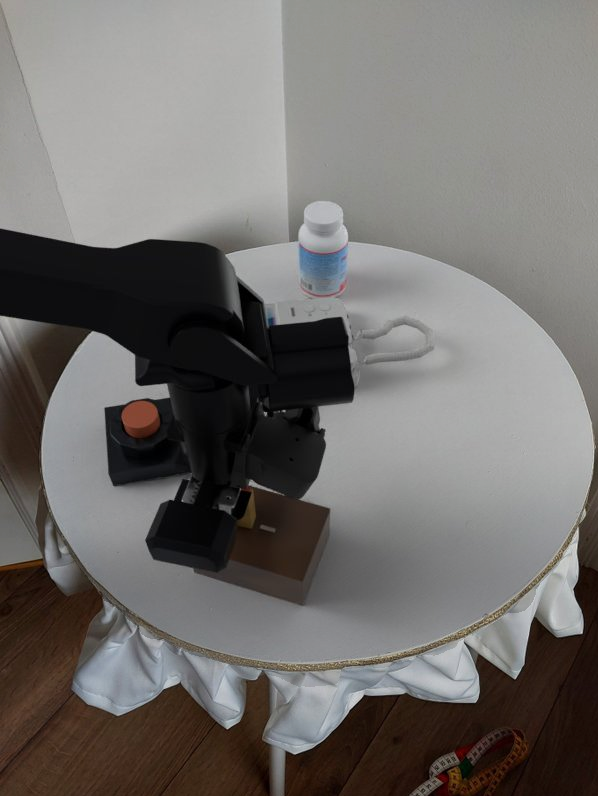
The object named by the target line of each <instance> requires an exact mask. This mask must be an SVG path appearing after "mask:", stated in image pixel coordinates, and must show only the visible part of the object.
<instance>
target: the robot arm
mask: <svg viewBox="0 0 598 796" xmlns="http://www.w3.org/2000/svg"><path fill="white" fill-rule="evenodd" d="M265 304H266V303H265V299H264V298H262V297H261V295H259V294H258V293H257V292H256V291H254V290H253V289H252V288H251V287H250V286H249V285H248V284H247V283H245V281H243V280H242V279H241V278H240V277H239V276H237V273H236V269H235V266H234V265H233V264H232V262H231V261H230V259H229V258H228V257H227V256H226V253H225V252H224V251H223V250H221V249H220V248H218V247H216V246H214V245H211V244H209V243H207V242H206V243H205V242H199V241H188V240H173V239H158V238H148V239H143V240H140V241H136V242H133V243H130V244H126V245H123V246H119V247H101V246H91V245H86V244H82V243H77V242H72V241H67V240H62V239H55V238H51V237H46V236H40V235H37V234H32V233H31V234H30V233H26V232H22V231H17V230H16V231H15V230H11V229H5V228H1V227H0V317H5V318H12V319H18V320H23V321H24V320H25V321H30V322H38V323H44V324H49V325H50V324H51V325H57V326H62V327H63V326H64V327H69V328H75V329H82V330H88V331H90V332H94V333H97V334H101V335H104V336H107V338H109V339H111V340H112V341H114V342H115V343H117V344H118V345H120V347H122V348H124V349H125V350H127V351H128V352H130V353H131V354H132V355H134V376H135V378H134V382H135V384H136V385H137V386H139V387H149V386H158V385H166V386H167V391H168V395H169V398H170V400H171V404H172V408H173V413H174V415H173V417H172V419H171V421H170V424H169V426H168V428H167V430H166V432H167V436H168V439H170V440H175V441H180V444H181V449H180V451H179V453H178V456H177V458H176V460H175V463H174V464H175V468H176V471H181V472H186V474H191V476H190V478H189V479H187V478H182V479H181V482H180V483H179V486H178V489H177V491H176V493H175V497H174V499H168V500H166V501H163V502H161V503H160V504H159V506H158V509H157V511H156V513H155V516H154V518H153V520H152V523H151V525H150V528H149V530H148V532H147V534H146V537H145V539H144V541H145V544H146V547H147V549H148V553H149V554H150V556H151V559H152V560H154V561H158V562H163V563H168V564H172V565H177V566H183V567H187V568H192V569H193V568H196V569H200V570H205V571H210V572H215V573H218V572H220V571H222V570H224V569H225V568H226V567H227V565H228V562H229V559H230V556H231V553H232V550H233V547H234V544H235V541H236V536H237V530H238V522H237V521H239V520H241V519H242V518H243V517H244V515H245V512H246V509H247V506H248V503H249V500H250V497H251V494H252V492H248V491H243V490H241V489H246V490H247V488H248V485H250V482H251V481H252V482H254V483H255V484H256V485H259V486H260V487H263V488H266V489H268V490H271V491H272V492H275V493H278V494H281V495H285V496H286V497H287V498H290V499H293V500H302V498H304V497H305V495H306V494H307V492H308V491H309V490H310V489H311V487H312V486H313V484H314V483H315V481H316V480H317V479H318V478H319V477H318V476H319V473H320V470H321V467H322V463H323V459H324V456H325V453H326V448H327V441H326V440H325V436H326V432H327V431H326V429H325V428H323V427H320V422H321V415H320V410H319V409H320V408H319V407H327V406H335V405H336V406H337V405H346V404H352V403H353V402H354V398H355V389H356V388H355V387H354V381H353V377H352V373H351V363H350V355H349V348H348V343H349V335H348V331H347V328H346V324H345V320H344V318H343V317H332V318H324V319H321V320H317V321H312V322H302V323H291V324H281V325H270V326H269V327H268V321H267V315H266V309H265ZM265 413H266V414H265Z"/></svg>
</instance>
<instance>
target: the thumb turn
mask: <svg viewBox="0 0 598 796" xmlns="http://www.w3.org/2000/svg"><path fill="white" fill-rule="evenodd" d="M241 490H243V491H248V492H252V494H251V497H250V500H249V503H248V506H247V509H246V512H245V515H244V517H243V518H242V519H241V520H239V521H237V522H238V526H241V527H246V528H251V529H252V527H253V524H254V521H255V518H256V512H255V503H254V493H253V490H252V489H248V488H247V490H246V489H241Z"/></svg>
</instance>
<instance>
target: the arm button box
mask: <svg viewBox="0 0 598 796" xmlns="http://www.w3.org/2000/svg"><path fill="white" fill-rule="evenodd" d="M137 401H147V402H150V403H152V404H153V405H155V407H156V408H157V411H158V414H159V418H160V427H159V429H158V431H157V432H156V433H155V434H153V435H152V436H150V437H147V438H134V437H132V436H130V435H129V434H128V433H127V432H126V430H125V427H124V424H123V421H122V412H123V410H124V409H125V408H126V407H127V406H128V405H129V404H131V403H133V402H137ZM103 411H104V421H105V422H104V424H105V427H104V428H105V440H106V441H105V442H106V455H107V456H106V457H107V471H108V477H109V479H110V482H111V484H112V486H113V487H114V486H115V487H116V486H121V485H126V484H134V483H138V482H144V481H151V480H156V479H157V480H158V479H163V478H169V477H173V476H174V477H175V476H179V475H187V473H186V472H181V471H176V468H175V464H174V463H175V460H176V458H177V456H178V453H179V451H180V449H181V444H180V441H175V440H170V439H168V436H167V432H166V430H167V428H168V426H169V424H170V421H171V419H172V417H173V415H174V413H173V408H172V404H171V400H170V397H164V398H158V399H153V398H150V397H146V398H140V399H139V398H138V399H131V400H130V401H128V402H127V403H125V404H118V405H112V406H105V407H104V408H103Z"/></svg>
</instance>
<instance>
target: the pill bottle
mask: <svg viewBox="0 0 598 796" xmlns="http://www.w3.org/2000/svg"><path fill="white" fill-rule="evenodd" d="M303 222H304V223H302V225H301V226H300V228H299V230H298V236H297V237H298V240H297V241H298V243H297V244H298V247H297V248H298V287H299V289H300V291H301V292H302V293H303V294H304V295H305V296H306V297H308V298H309V299H316V298H329V297H335V298H338V297H339V296H341V295H342V294H343V293H344V291H345V289H346V286H347V269H348V250H349V249H348V247H349V233H348V229H347V228H346V226H345V225H344V211H343V209H342V207H341V206H340V205H339V204H337V203H335V202H332V201H328V200H317V201H314V202H311V203H309V204H308V205H307V206H306V207H305V208H304V211H303Z"/></svg>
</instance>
